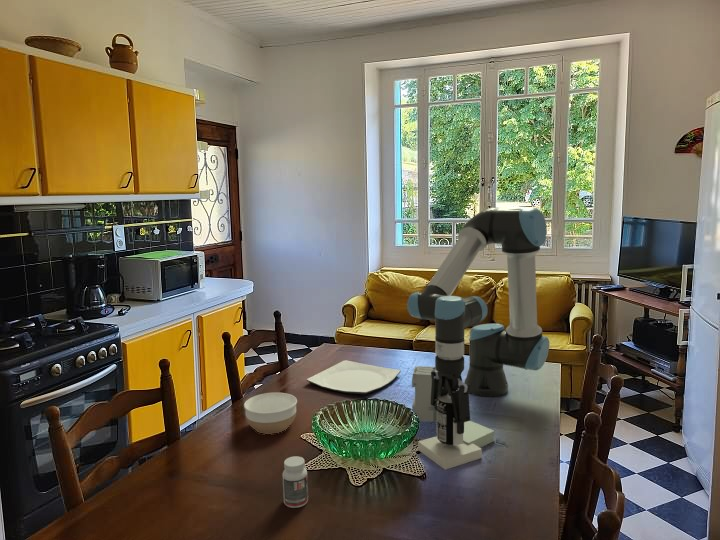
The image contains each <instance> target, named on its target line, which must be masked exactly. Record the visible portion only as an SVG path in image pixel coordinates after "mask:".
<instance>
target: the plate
mask: <svg viewBox="0 0 720 540" xmlns="http://www.w3.org/2000/svg"><path fill="white" fill-rule="evenodd" d="M401 371H402V370H401V369H397V368H396V369H395V368H390V367H389V368H388V367H382V366H378V365H372V364H366V363H361V362H356V361H351V360H345V359H344V360H342V361H340V362H338V363H336V364H334V365H333V366H331V367H328V368H326V369H325V370H322V371H320V372H318V373H316V374H315V375H312V376H311V377H308V378H306V381H307V382H308V383H310V384H312V385H315V386H317V387H319V388H322V389H326V390H331V391H334V392H338V393H345V394H355V395H368V394H370V393H372V392H375V391H378V390H380V389H382V388H384V387H386V386H388V384H390V383H392V382H393V381H394V380H395V379H396V378H397V377H398V375H399V374H401Z"/></svg>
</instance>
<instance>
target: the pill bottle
mask: <svg viewBox="0 0 720 540" xmlns="http://www.w3.org/2000/svg"><path fill="white" fill-rule="evenodd" d="M305 461H306V460H305V459H304V458H303V457H302V456H297V455H295V456H290V457H287V458H285V460H284V462H283V468H284V470H283V471H282V476H281V477H282V497H283V504H284V505H285V506H287V508H292V509H296V508H297V509H298V508H301V507H304V506H305V505H306V504H307V503H308V501H309V486H308V485H309V480H308V471H307V469H306V467H305V465H306V462H305Z"/></svg>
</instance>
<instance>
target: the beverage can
mask: <svg viewBox="0 0 720 540" xmlns="http://www.w3.org/2000/svg"><path fill="white" fill-rule="evenodd" d="M459 417H460V416H459ZM453 421H455V416H454V411H453V406H452V401H451V396H449V394H447V395H444V396H439V400H438V401H437V422H436V436H437V438H438V440H439V441H440V442H441V443H443V444H446V445H453Z"/></svg>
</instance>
